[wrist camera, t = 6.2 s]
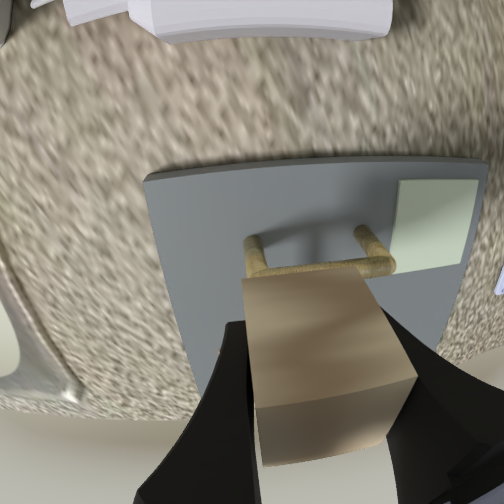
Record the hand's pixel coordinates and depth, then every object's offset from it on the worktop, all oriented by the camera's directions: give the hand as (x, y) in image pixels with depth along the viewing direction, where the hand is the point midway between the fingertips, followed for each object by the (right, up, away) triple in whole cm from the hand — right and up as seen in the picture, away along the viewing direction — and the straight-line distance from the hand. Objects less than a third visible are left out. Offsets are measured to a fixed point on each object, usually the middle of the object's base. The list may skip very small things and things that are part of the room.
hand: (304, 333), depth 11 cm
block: (0, 0, +1) cm, 1 cm away
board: (+3, 0, +10) cm, 10 cm away
